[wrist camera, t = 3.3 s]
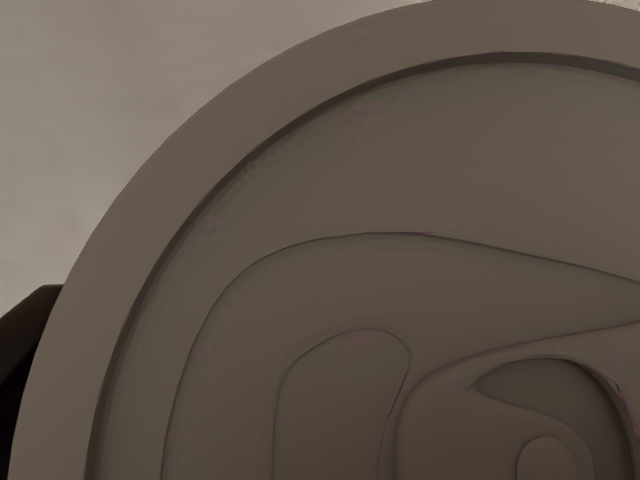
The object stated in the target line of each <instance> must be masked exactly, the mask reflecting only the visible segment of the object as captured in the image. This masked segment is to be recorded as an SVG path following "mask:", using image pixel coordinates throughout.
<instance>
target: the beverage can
mask: <svg viewBox="0 0 640 480" xmlns="http://www.w3.org/2000/svg"><path fill="white" fill-rule="evenodd" d="M7 480H640V12H639V11H635V10H631V9H627V8H623V7H619V6H615V5H610V4H605V3H599V2H594V1H588V0H433V1H428V2H423V3H418V4H413V5H408V6H403V7H398V8H395V9H391V10H388V11H384V12H381V13H377V14H374V15H370V16H367V17H363V18H360V19H358V20H355V21H352V22H350V23H347V24H344V25H342V26H339V27H336V28H333V29H331V30H328V31H326V32H324V33H322V34H319V35H317V36H315V37H313V38H311V39H309V40H306V41H304V42H302V43H300V44H298V45H296V46H294V47H292V48H290V49H288V50H286V51H285V52H283V53H281V54H279V55H277V56H276V57H274V58H272V59H270V60H268V61H267V62H265V63H263V64H261V65H260V66H258V67H257V68H255V69H254V70H252V71H251V72H249V73H248V74H246V75H245V76H243V77H242V78H240V79H239V80H237V81H236V82H234V83H233V84H231V85H230V86H228V87H227V88H226V89H224V90H223V91H222V92H221V93H219V94H218V95H217V96H216V97H214V98H213V99H212V100H210V101H209V102H208V103H207V104H205V105H204V106H203V107H202V108H200V109H199V110H198V111H197V112H196V113H194V114H193V115H192V116H191V117H190V118H189V119H188V120H187V121H186V122H185V123H184V124H183V125H181V126H180V127H179V128H178V129H177V130H176V131H175V132H174V133H173V134H172V135H171V136H169V137H168V138H167V140H166V141H165V142H164V143H163V144H162V145H161V146H160V147H159V148H158V149H157V150H156V151H155V152H154V153H153V155H152V156H151V157H150V158H149V159H148V160H147V161H146V162H145V163H144V164H143V165H142V166H141V167H140V169H139V170H138V171H137V173H136V174H135V175H134V176H133V178H132V179H131V180H130V181H129V183H128V184H127V185H126V186H125V188H124V189H123V190H122V191H121V193H120V194H119V195H118V196H117V198H116V199H115V200H114V202H113V203H112V205H111V206H110V208H109V209H108V211H107V212H106V214H105V215H104V216H103V218H102V219H101V221H100V222H99V224H98V225H97V227H96V228H95V230H94V231H93V233H92V234H91V236H90V238H89V239H88V241H87V243H86V245H85V246H84V248H83V250H82V252H81V253H80V255H79V257H78V259H77V260H76V262H75V264H74V266H73V267H72V269H71V271H70V273H69V275H68V277H67V279H66V281H65V283H64V286H63V288H62V290H61V292H60V294H59V296H58V298H57V300H56V302H55V305H54V307H53V309H52V311H51V313H50V316H49V319H48V321H47V324H46V327H45V329H44V332H43V334H42V337H41V340H40V342H39V345H38V347H37V350H36V353H35V356H34V359H33V363H32V366H31V369H30V373H29V376H28V379H27V383H26V386H25V390H24V393H23V396H22V401H21V405H20V410H19V415H18V419H17V424H16V429H15V433H14V438H13V443H12V450H11V457H10V464H9V472H8V479H7Z"/></svg>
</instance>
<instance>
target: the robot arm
mask: <svg viewBox="0 0 640 480" xmlns="http://www.w3.org/2000/svg"><path fill="white" fill-rule="evenodd" d="M63 286H64V284H53V285H43V286H41V287H39V288H38V289H36V290H35V291H34V292H33V293H31V294H30V295H29V296H27V297H26V298H25V299H24V300H22V301H21V302H20V303H19V304H17V305H16V306H15V307H14V308H12V309H11V310H10V311H9V312H7V313H6V314H5V315H4V316H2V317H1V318H0V480H7V479H8V472H9V464H10V457H11V450H12V443H13V438H14V433H15V429H16V424H17V419H18V415H19V410H20V405H21V401H22V396H23V393H24V390H25V386H26V383H27V379H28V376H29V373H30V369H31V366H32V363H33V359H34V356H35V353H36V350H37V347H38V345H39V342H40V340H41V337H42V334H43V332H44V329H45V327H46V324H47V321H48V319H49V316H50V313H51V311H52V309H53V307H54V305H55V302H56V300H57V298H58V296H59V294H60V292H61V290H62V288H63Z"/></svg>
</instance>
